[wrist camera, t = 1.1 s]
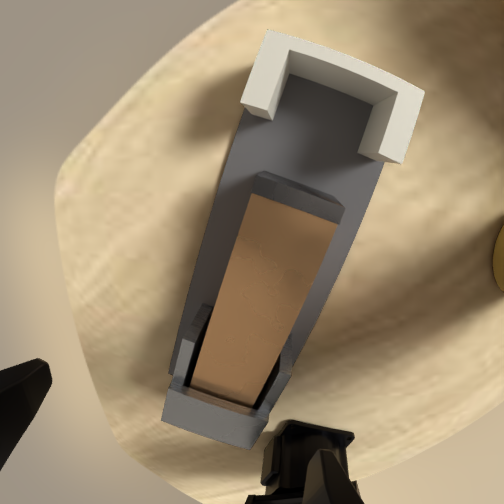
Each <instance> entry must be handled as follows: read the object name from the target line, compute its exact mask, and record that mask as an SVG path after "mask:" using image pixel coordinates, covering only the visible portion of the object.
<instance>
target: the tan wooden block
mask: <svg viewBox="0 0 504 504" xmlns="http://www.w3.org/2000/svg"><path fill="white" fill-rule="evenodd" d="M251 193H252V194H251V197H250V200H249V203H248V206H247V209H246V212H245V215H244V218H243V221H242V224H241V227H240V230H239V233H238V236H237V239H236V242H235V245H234V248H233V251H232V254H231V257H230V260H229V263H228V266H227V269H226V272H225V275H224V279H223V282H222V285H221V288H220V291H219V294H218V297H217V300H216V303H215V307H214V310H213V313H212V316H211V319H210V322H209V326H208V329H207V332H206V335H205V338H204V341H203V345H202V348H201V351H200V354H199V358H198V361H197V364H196V367H195V370H194V374H193V377H192V380H191V384H190V387H189V388H191V389H194V390H197V391H199V392H202V393H205V394H208V395H211V396H214V397H216V398H219V399H222V400H225V401H229V402H232V403H235V404H238V405H241V406H244V407H248V408H252V407H253V405H254V403H255V401H256V399H257V397H258V395H259V393H260V391H261V390H262V388H263V386H264V384H265V382H266V380H267V378H268V376H269V374H270V372H271V370H272V368H273V366H274V364H275V362H276V360H277V358H278V356H279V354H280V352H281V350H282V348H283V346H284V344H285V342H286V340H287V338H288V336H289V334H290V332H291V330H292V327H293V325H294V323H295V321H296V319H297V317H298V315H299V313H300V310H301V308H302V306H303V304H304V302H305V300H306V297H307V295H308V293H309V291H310V288H311V286H312V284H313V282H314V279H315V277H316V275H317V273H318V270H319V268H320V266H321V263H322V261H323V259H324V256H325V254H326V252H327V249H328V247H329V245H330V242H331V240H332V237H333V235H334V233H335V230H336V228H337V225H339V224H340V221H341V219H342V216H343V214H344V211H345V209H346V208H345V207H344V206H343V205H342V204H341V203H340V202H339V201H338V200H337V199H336V198H335V197H334V196H333V195H330V194H327V193H325V192H322V191H320V190H317V189H314V188H312V187H309V186H306V185H304V184H301V183H298V182H296V181H293V180H290V179H287V178H285V177H282V176H279V175H276V174H273V173H270V172H267V171H265V170H263V171H262V172H260V173H259V174H257V175H256V178H255V181H254V184H253V187H252V190H251Z"/></svg>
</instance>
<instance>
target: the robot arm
mask: <svg viewBox="0 0 504 504" xmlns="http://www.w3.org/2000/svg"><path fill="white" fill-rule="evenodd" d="M51 384H52V376H51V372H50V368H49V364H48V363H47V362H45V361H44V360H42V359H40V358H36V359H33V360H30V361H27V362H25V363H22V364H19V365H16V366H13V367H10V368H7V369H4V370H1V371H0V471H1V469H2V467H3V465H4V464H5V462H6V461H7V459H8V457H9V456H10V454H11V453H12V451H13V449H14V448H15V446H16V444H17V443H18V441H19V440H20V438H21V437H22V435H23V433H24V432H25V431H26V429H27V428H28V426H29V425H30V423H31V421H32V420H33V418H34V417H35V415H36V413H37V411H38V410H39V408H40V406H41V404H42V402H43V400H44V398H45V396H46V394H47V392H48V391H49V389H50V387H51ZM354 438H355V437H354V433H352V432H347V431H341V430H336V429H331V428H326V427H321V426H316V425H311V424H307V423H303V422H298V421H294V420H291V421H288V422H287V423H286V424H285V426H284V427H283V429H282V430H281V432H280V433H279V434H278V435H276V436H274V437H273V439H272V440H271V442H270V443H269V444H268V446H267V447H266V449H265V450H264V458H263V466H262V474H261V482H260V483H261V484H262V485H263V486H266V492H265V495H248V497H247V500H246V502H245V504H364V502H363V501H362V499H361V496H360V492H359V489H358V485H357V481H352V482H351V481H350V479H349V473H348V463H347V454H346V447H347V446H348V445H349V444H350V443H351V442H352V441H353V440H354Z"/></svg>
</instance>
